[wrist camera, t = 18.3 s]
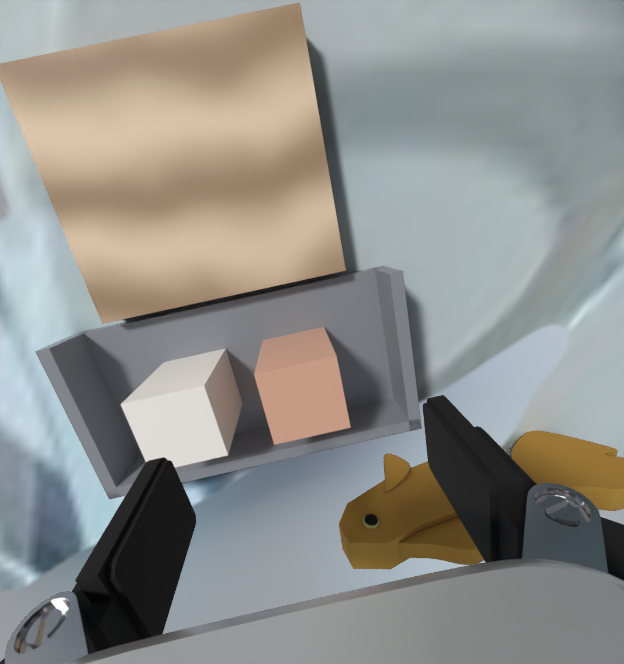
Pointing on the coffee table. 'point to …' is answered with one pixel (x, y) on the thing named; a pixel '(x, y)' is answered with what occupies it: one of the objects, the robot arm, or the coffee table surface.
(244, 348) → the box
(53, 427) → the coffee table surface
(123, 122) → the board
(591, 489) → the decorative fish
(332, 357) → the terracotta block
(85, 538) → the coffee table surface
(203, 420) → the cream block
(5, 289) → the coffee table surface
